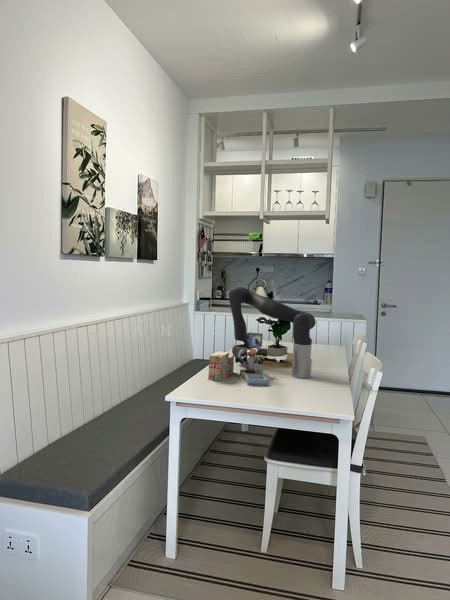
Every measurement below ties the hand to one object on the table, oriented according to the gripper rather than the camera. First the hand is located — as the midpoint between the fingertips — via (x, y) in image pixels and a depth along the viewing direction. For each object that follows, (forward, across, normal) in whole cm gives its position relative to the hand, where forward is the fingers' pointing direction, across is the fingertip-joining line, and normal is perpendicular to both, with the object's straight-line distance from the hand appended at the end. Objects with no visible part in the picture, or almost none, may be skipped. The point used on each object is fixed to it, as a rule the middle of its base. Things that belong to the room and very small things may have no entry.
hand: (251, 362), depth 238 cm
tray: (+9, +1, +8) cm, 12 cm away
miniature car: (-47, +20, +8) cm, 52 cm away
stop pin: (-2, 0, +8) cm, 8 cm away
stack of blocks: (-4, -14, +8) cm, 17 cm away
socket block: (-2, 0, +8) cm, 8 cm away
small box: (-85, +17, +8) cm, 87 cm away
